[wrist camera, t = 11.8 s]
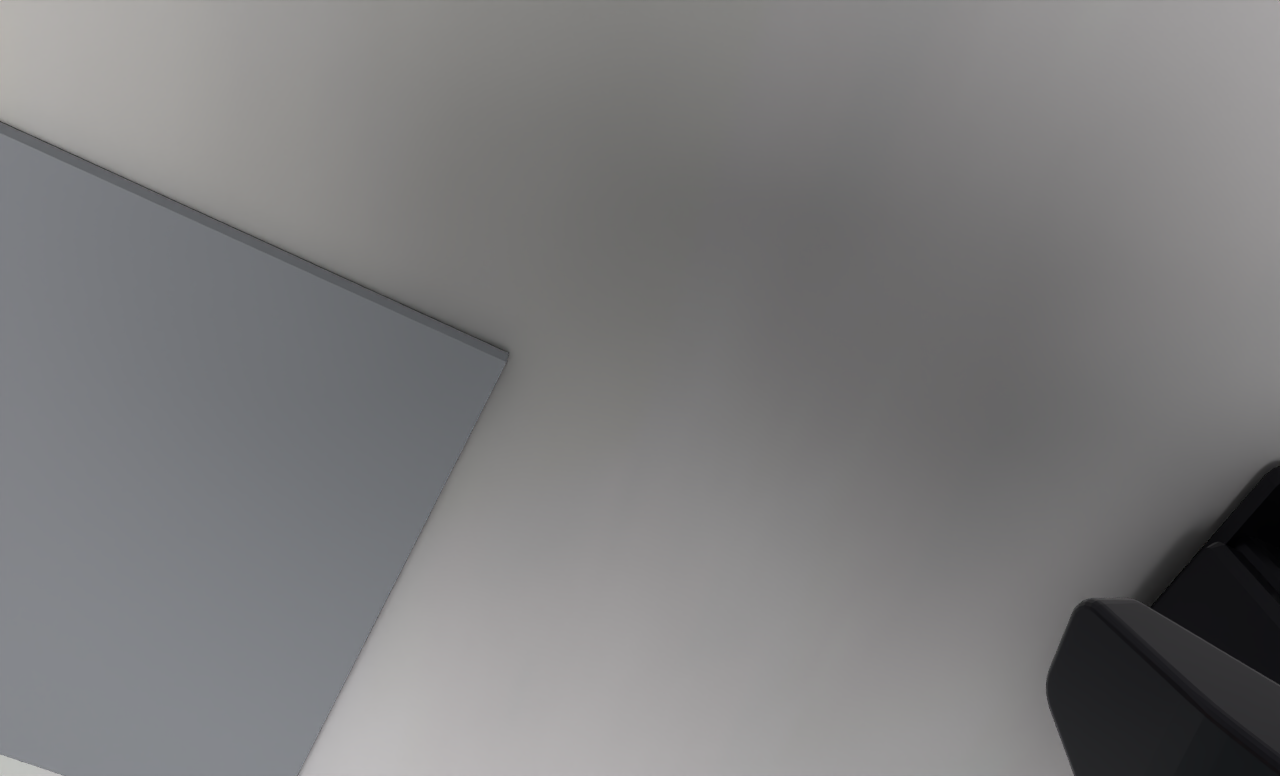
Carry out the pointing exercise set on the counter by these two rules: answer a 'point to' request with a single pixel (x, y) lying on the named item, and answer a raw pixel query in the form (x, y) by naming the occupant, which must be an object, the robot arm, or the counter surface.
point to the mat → (197, 475)
